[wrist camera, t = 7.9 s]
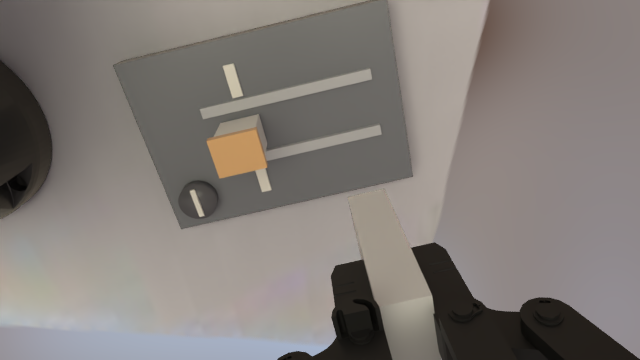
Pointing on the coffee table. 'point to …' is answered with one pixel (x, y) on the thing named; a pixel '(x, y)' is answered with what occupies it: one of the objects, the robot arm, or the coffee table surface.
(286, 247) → the coffee table surface
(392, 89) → the console
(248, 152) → the fader
